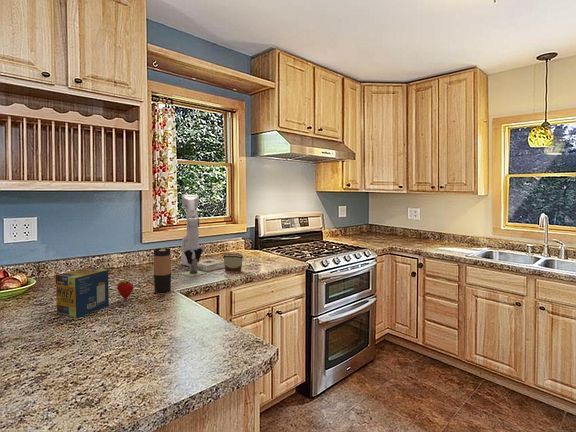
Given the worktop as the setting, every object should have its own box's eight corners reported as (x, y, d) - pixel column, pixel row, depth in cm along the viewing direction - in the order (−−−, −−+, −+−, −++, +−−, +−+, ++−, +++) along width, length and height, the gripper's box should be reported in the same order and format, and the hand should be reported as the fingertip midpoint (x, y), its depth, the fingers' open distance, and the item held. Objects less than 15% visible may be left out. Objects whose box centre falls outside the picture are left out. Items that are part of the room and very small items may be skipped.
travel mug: (161, 294, 161) (160, 251, 160) (150, 291, 165) (149, 249, 164) (174, 290, 168) (174, 249, 166) (164, 288, 172) (163, 247, 170)
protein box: (56, 314, 136) (54, 274, 134) (91, 302, 150) (90, 266, 149) (75, 318, 132) (74, 278, 131) (109, 305, 146) (108, 269, 145)
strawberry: (124, 302, 150) (124, 279, 149) (113, 299, 154) (113, 277, 153) (136, 299, 155) (136, 276, 154) (126, 295, 159) (125, 274, 158)
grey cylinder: (187, 272, 200) (187, 258, 199) (194, 270, 203) (194, 257, 202) (192, 273, 197) (192, 259, 196) (199, 272, 200) (198, 258, 199)
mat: (180, 273, 199) (180, 273, 199) (195, 270, 207) (195, 269, 207) (191, 276, 193) (191, 276, 193) (206, 273, 201) (206, 272, 201)
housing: (191, 267, 214) (191, 262, 213) (210, 263, 225) (210, 258, 224) (207, 271, 205) (206, 265, 205) (225, 267, 216) (225, 261, 216)
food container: (245, 270, 211) (245, 253, 210) (243, 272, 205) (243, 255, 204) (225, 269, 212) (225, 252, 211) (222, 271, 206) (222, 254, 205)
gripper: (186, 241, 190) (187, 266, 191) (208, 238, 202) (208, 261, 203) (179, 239, 194) (179, 264, 196) (200, 237, 206) (200, 260, 207)
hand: (193, 262), depth 199 cm, fingers open, 5 cm apart
